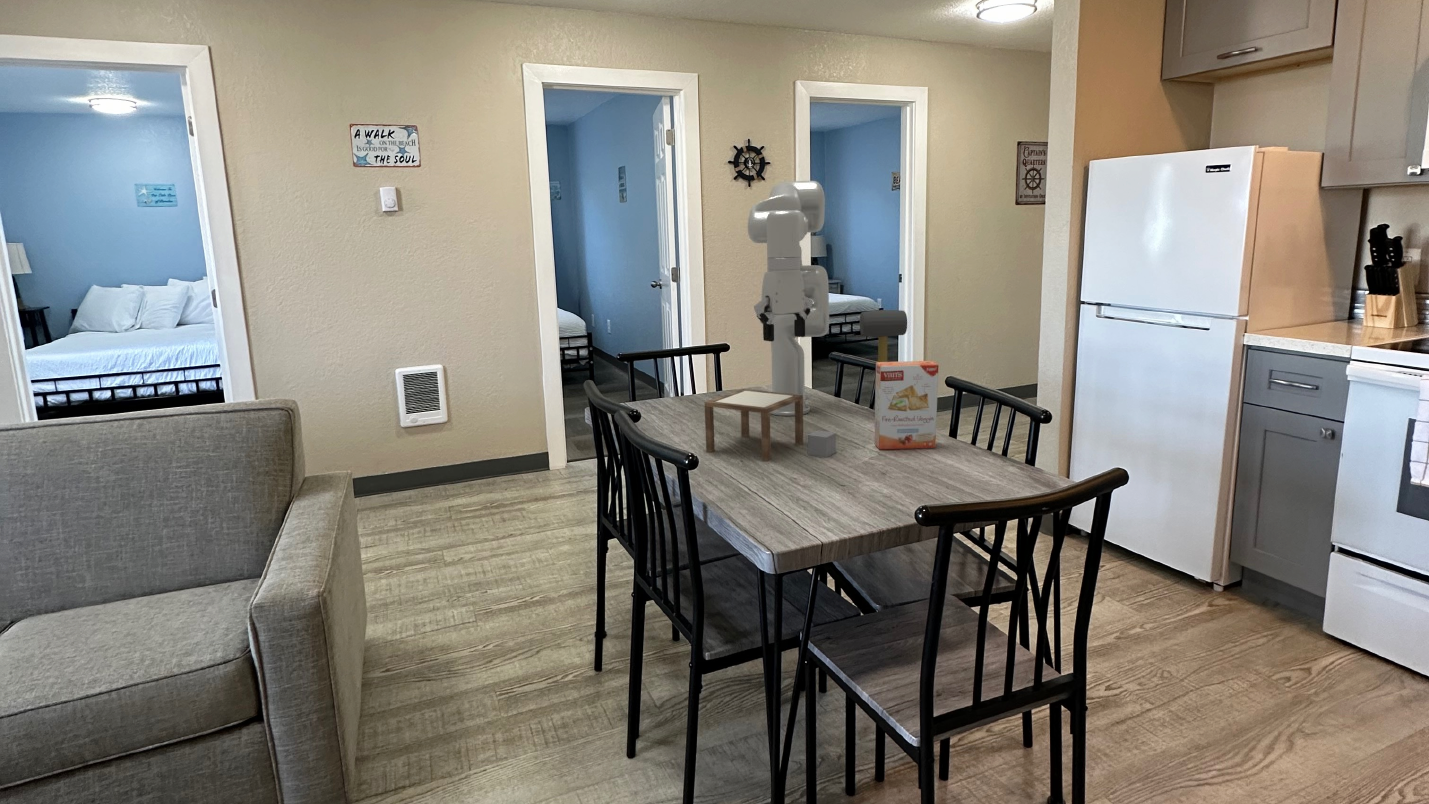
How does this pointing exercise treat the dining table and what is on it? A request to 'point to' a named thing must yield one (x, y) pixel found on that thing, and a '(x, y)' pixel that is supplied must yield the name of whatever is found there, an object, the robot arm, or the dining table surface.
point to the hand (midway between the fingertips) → (784, 338)
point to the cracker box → (906, 404)
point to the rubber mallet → (883, 327)
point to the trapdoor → (754, 398)
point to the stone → (821, 443)
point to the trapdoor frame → (745, 419)
